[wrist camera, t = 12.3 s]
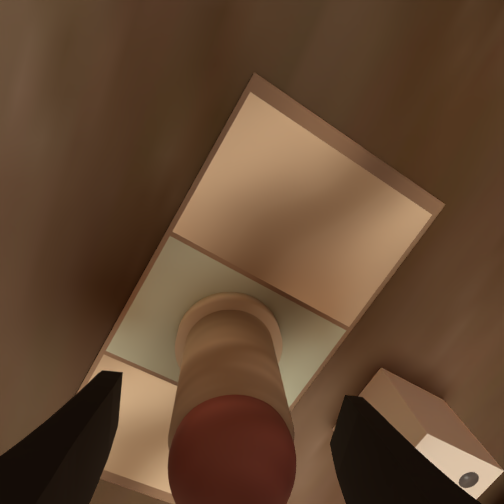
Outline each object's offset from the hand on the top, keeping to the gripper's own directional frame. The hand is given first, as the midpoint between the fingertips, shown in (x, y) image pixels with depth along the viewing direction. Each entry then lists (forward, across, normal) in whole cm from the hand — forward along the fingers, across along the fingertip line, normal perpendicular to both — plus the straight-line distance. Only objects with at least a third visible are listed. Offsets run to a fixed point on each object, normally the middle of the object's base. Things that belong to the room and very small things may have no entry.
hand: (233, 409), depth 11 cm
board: (+4, 0, 0) cm, 4 cm away
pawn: (+4, 0, 0) cm, 4 cm away
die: (+4, -8, +3) cm, 10 cm away
